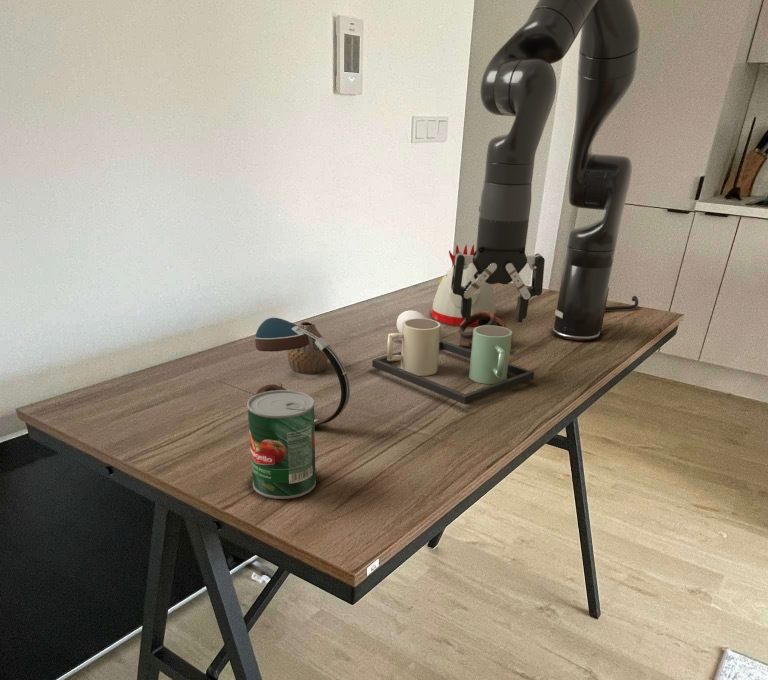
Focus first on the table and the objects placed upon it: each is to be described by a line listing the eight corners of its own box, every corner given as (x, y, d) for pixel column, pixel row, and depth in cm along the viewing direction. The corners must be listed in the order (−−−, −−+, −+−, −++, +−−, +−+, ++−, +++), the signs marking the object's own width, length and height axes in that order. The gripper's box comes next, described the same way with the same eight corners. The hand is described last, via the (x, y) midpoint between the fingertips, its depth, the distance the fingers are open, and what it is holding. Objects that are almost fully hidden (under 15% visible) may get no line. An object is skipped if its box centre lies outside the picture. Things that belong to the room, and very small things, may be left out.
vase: (335, 371, 123) (335, 321, 119) (316, 383, 118) (314, 332, 113) (301, 364, 126) (299, 315, 121) (280, 376, 120) (278, 325, 116)
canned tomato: (240, 491, 87) (233, 408, 81) (271, 464, 93) (267, 385, 87) (298, 504, 84) (295, 420, 79) (326, 476, 91) (325, 396, 85)
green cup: (464, 371, 122) (468, 325, 118) (499, 370, 123) (505, 324, 119) (479, 391, 114) (484, 342, 110) (517, 389, 116) (523, 341, 111)
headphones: (204, 406, 106) (333, 449, 100) (202, 306, 98) (342, 347, 91) (229, 393, 111) (353, 433, 104) (229, 297, 103) (364, 335, 96)
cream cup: (430, 362, 126) (433, 317, 121) (442, 374, 120) (446, 328, 116) (381, 365, 123) (382, 319, 119) (392, 378, 118) (393, 331, 114)
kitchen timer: (434, 306, 161) (439, 236, 153) (495, 310, 160) (502, 240, 152) (429, 323, 149) (434, 249, 142) (494, 327, 148) (503, 253, 140)
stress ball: (429, 360, 139) (447, 330, 138) (403, 342, 134) (422, 311, 133) (407, 347, 145) (425, 318, 143) (382, 330, 139) (399, 300, 138)
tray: (440, 351, 134) (441, 340, 133) (532, 384, 121) (534, 371, 119) (371, 372, 124) (372, 359, 122) (464, 410, 110) (465, 396, 109)
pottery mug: (516, 361, 132) (500, 325, 127) (468, 377, 135) (452, 344, 130) (512, 326, 140) (498, 291, 135) (468, 343, 144) (452, 310, 139)
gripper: (460, 218, 103) (452, 327, 112) (556, 219, 104) (541, 328, 112) (454, 209, 109) (446, 313, 118) (545, 211, 110) (531, 314, 119)
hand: (492, 320), depth 115 cm, fingers open, 8 cm apart
